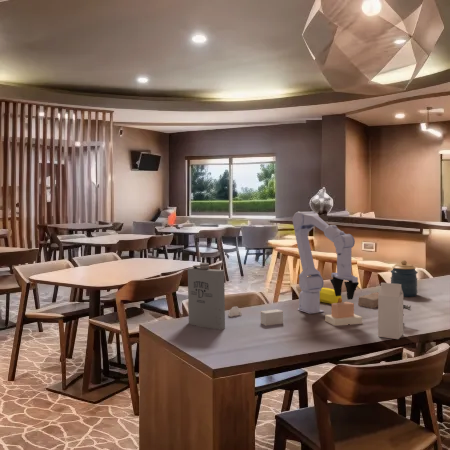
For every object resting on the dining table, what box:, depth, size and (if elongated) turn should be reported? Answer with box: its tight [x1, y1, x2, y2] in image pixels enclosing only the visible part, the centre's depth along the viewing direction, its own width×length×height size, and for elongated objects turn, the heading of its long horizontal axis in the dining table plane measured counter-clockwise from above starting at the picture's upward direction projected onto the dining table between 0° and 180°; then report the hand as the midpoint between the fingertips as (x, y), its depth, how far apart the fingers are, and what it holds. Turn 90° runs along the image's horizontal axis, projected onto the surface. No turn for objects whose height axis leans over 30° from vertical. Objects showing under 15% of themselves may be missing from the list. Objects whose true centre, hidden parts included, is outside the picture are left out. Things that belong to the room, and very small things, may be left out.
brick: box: [357, 291, 379, 309], centre depth 234 cm, size 17×8×5 cm, turn 131°
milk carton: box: [377, 282, 404, 340], centre depth 179 cm, size 7×7×19 cm
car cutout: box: [227, 306, 242, 318], centre depth 212 cm, size 15×7×4 cm, turn 119°
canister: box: [390, 260, 418, 298], centre depth 255 cm, size 13×13×18 cm
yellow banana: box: [320, 287, 343, 305], centre depth 240 cm, size 18×7×8 cm
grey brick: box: [260, 308, 284, 327], centre depth 200 cm, size 4×8×5 cm, turn 115°
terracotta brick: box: [330, 301, 355, 318], centre depth 200 cm, size 4×8×5 cm, turn 116°
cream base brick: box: [324, 313, 363, 327], centre depth 200 cm, size 8×12×3 cm, turn 104°
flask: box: [187, 262, 226, 330], centre depth 197 cm, size 17×5×25 cm, turn 52°
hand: (344, 297), depth 203 cm, fingers open, 7 cm apart
